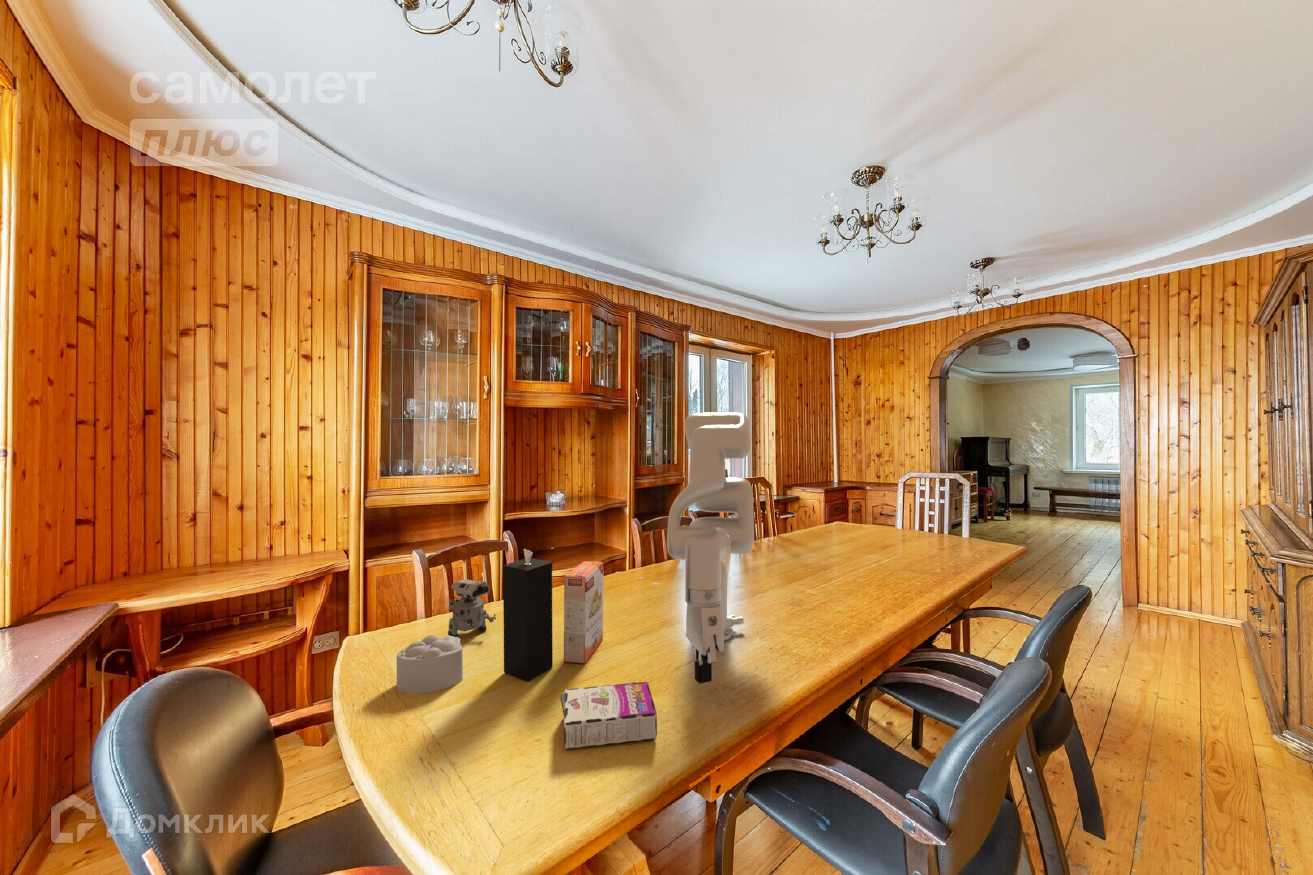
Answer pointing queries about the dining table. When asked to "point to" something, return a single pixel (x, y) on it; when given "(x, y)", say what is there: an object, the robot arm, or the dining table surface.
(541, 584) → the black tall square box
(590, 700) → the candy bar box
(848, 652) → the dining table surface
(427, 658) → the lumpy-topped squat cylinder
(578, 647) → the cracker box
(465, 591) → the figurine
